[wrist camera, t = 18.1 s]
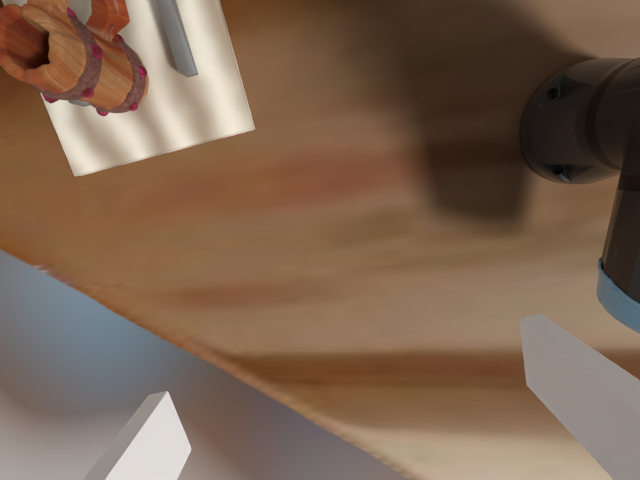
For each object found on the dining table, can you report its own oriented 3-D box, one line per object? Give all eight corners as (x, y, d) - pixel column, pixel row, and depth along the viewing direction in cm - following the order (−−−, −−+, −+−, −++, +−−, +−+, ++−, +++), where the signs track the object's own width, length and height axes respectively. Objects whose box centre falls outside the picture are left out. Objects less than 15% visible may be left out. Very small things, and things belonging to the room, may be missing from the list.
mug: (145, 132, 42) (48, 113, 27) (86, 105, 41) (-46, 70, 26) (181, 19, 39) (92, -71, 24) (118, -12, 38) (-13, -125, 23)
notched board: (203, -57, 38) (191, -80, 34) (255, 129, 42) (248, 126, 39) (11, 4, 40) (-21, -12, 36) (81, 175, 44) (59, 176, 41)
